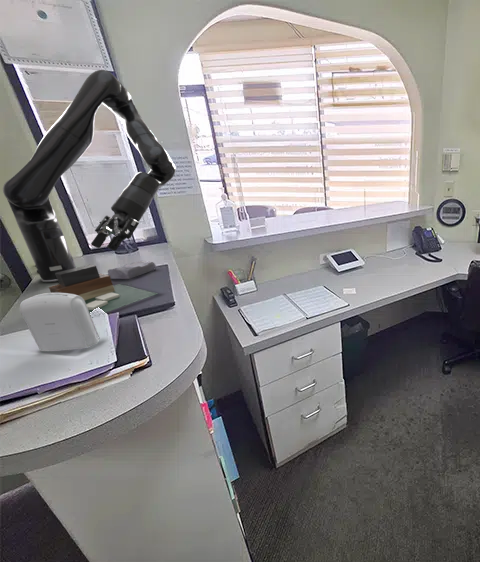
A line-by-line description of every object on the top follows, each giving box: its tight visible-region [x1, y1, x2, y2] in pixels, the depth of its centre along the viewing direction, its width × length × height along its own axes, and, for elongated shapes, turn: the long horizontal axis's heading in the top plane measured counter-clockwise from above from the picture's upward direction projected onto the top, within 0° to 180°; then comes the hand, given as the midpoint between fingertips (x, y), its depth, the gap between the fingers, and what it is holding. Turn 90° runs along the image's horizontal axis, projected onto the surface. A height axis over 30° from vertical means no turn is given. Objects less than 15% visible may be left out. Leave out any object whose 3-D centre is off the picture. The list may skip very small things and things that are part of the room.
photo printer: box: [19, 292, 101, 352], centre depth 63 cm, size 10×4×12 cm, turn 96°
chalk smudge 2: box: [95, 292, 120, 301], centre depth 88 cm, size 4×4×1 cm
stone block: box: [107, 260, 157, 280], centre depth 109 cm, size 12×5×10 cm
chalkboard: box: [85, 283, 159, 314], centre depth 87 cm, size 20×20×1 cm
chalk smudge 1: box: [86, 300, 108, 310], centre depth 83 cm, size 4×4×1 cm
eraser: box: [48, 264, 115, 301], centre depth 88 cm, size 5×12×8 cm, turn 155°
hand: (102, 247), depth 91 cm, fingers open, 8 cm apart
